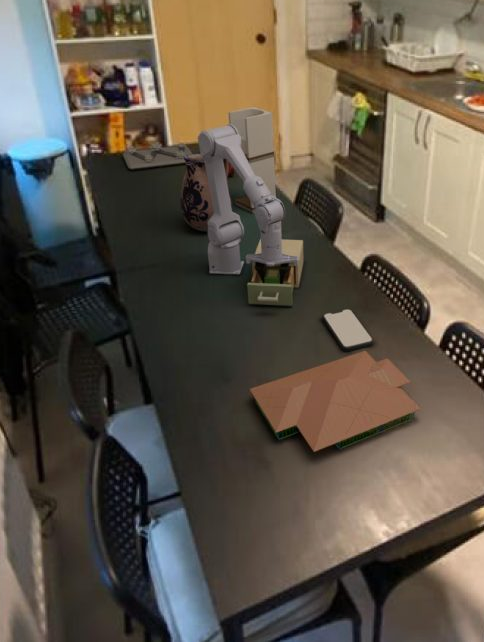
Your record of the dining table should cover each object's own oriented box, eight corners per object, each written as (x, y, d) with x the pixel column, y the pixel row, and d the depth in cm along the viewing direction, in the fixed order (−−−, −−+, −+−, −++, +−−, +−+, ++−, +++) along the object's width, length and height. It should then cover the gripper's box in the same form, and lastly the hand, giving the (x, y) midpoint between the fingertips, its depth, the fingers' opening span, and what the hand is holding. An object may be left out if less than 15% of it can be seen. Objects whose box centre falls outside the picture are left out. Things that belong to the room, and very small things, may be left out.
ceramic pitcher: (173, 231, 197) (162, 162, 184) (206, 209, 214) (199, 144, 200) (216, 241, 192) (208, 170, 178) (247, 217, 208) (242, 151, 195)
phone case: (375, 345, 145) (350, 312, 157) (375, 341, 144) (350, 307, 156) (343, 353, 142) (320, 318, 154) (343, 348, 141) (320, 314, 154)
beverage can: (236, 177, 242) (235, 162, 238) (209, 181, 237) (207, 166, 234) (231, 172, 247) (230, 157, 244) (204, 176, 243) (203, 161, 239)
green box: (279, 292, 160) (279, 280, 158) (264, 292, 160) (263, 279, 158) (282, 280, 166) (282, 268, 163) (267, 280, 166) (267, 267, 163)
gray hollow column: (259, 197, 225) (254, 107, 206) (276, 205, 219) (272, 113, 199) (235, 204, 218) (228, 112, 199) (252, 213, 212) (246, 118, 193)
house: (429, 415, 124) (433, 388, 120) (293, 471, 110) (292, 442, 106) (374, 357, 141) (376, 331, 136) (250, 399, 127) (247, 372, 123)
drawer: (290, 313, 155) (289, 294, 151) (246, 311, 155) (244, 292, 152) (297, 279, 170) (297, 261, 167) (257, 277, 170) (255, 259, 167)
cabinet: (298, 287, 168) (298, 264, 164) (253, 285, 168) (251, 262, 164) (303, 262, 181) (303, 240, 176) (261, 260, 181) (260, 238, 177)
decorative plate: (129, 172, 245) (126, 156, 241) (122, 156, 261) (119, 141, 257) (198, 163, 256) (196, 148, 252) (187, 149, 272) (185, 134, 268)
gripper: (242, 248, 152) (245, 291, 159) (296, 250, 152) (296, 293, 159) (247, 236, 158) (250, 278, 165) (298, 239, 157) (299, 280, 165)
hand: (273, 285), depth 163 cm, fingers closed on green box, 4 cm apart
